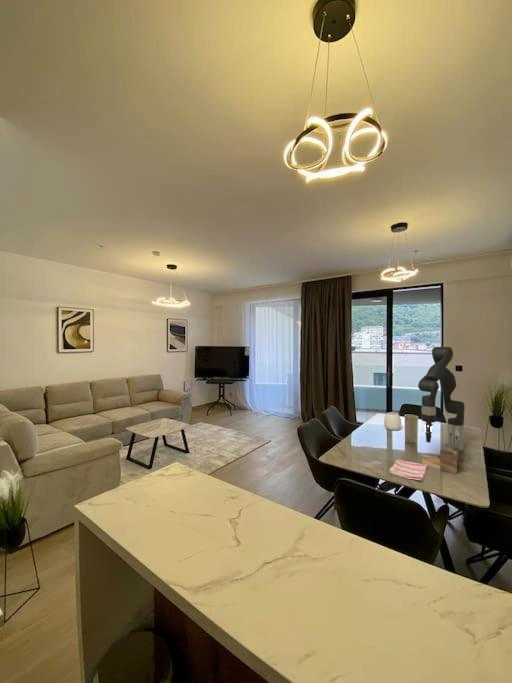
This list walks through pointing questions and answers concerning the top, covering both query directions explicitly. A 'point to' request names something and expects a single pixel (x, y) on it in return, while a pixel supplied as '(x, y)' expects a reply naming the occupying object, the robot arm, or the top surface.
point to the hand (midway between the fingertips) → (428, 440)
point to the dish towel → (409, 470)
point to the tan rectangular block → (431, 461)
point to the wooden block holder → (449, 460)
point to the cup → (392, 421)
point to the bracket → (449, 447)
